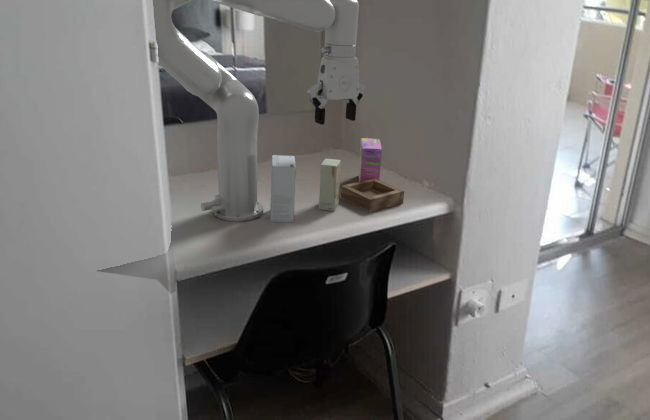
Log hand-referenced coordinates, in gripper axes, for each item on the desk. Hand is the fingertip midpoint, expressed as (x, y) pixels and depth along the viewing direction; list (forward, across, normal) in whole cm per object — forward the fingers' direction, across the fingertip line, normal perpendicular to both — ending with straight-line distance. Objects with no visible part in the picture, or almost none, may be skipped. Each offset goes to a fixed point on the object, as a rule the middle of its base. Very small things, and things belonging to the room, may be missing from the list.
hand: (335, 121), depth 150 cm
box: (+22, +21, +8) cm, 32 cm away
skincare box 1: (+23, -15, 0) cm, 27 cm away
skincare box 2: (+23, -1, -1) cm, 23 cm away
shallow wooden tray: (+22, +12, -4) cm, 25 cm away
